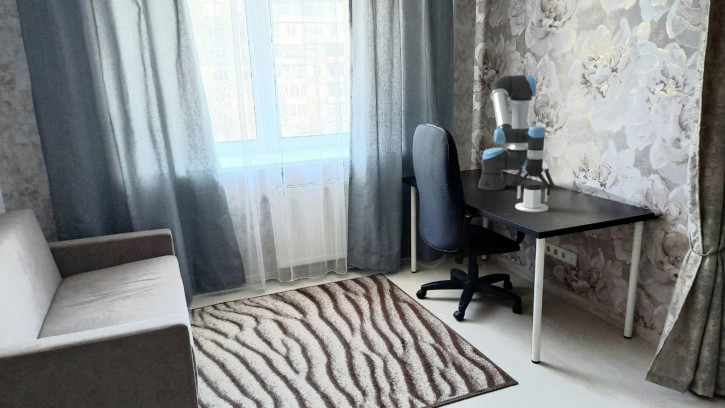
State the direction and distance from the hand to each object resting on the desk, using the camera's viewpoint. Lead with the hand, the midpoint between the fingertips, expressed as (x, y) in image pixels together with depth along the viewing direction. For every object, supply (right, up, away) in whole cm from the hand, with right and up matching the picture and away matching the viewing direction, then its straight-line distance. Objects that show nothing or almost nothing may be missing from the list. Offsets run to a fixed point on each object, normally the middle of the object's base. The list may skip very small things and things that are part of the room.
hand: (532, 199), depth 249 cm
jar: (0, -4, +1) cm, 4 cm away
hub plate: (0, -4, +1) cm, 4 cm away
